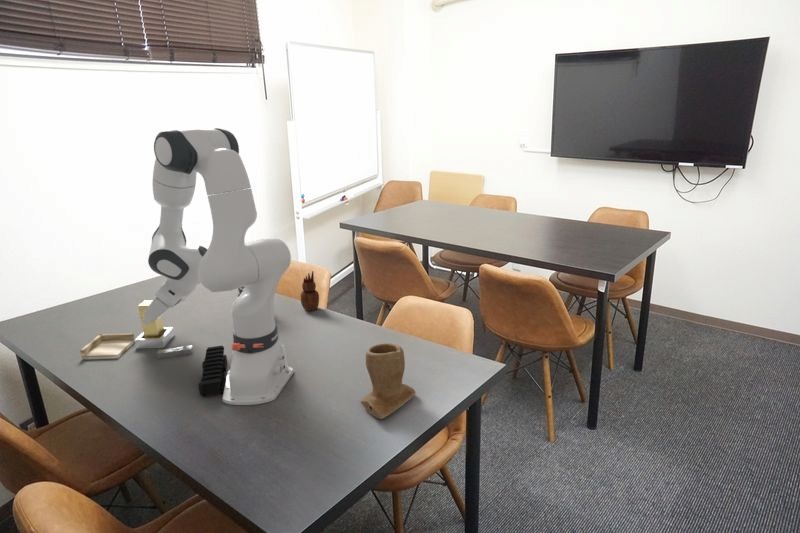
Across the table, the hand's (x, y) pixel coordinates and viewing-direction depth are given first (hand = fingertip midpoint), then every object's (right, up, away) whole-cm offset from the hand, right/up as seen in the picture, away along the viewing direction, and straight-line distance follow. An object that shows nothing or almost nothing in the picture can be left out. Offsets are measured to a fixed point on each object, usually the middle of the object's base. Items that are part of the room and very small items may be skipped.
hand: (151, 316), depth 158 cm
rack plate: (-12, -11, -2) cm, 16 cm away
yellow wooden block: (0, -9, +3) cm, 9 cm away
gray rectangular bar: (+10, -12, -5) cm, 16 cm away
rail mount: (+28, -16, -19) cm, 38 cm away
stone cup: (+77, -19, -32) cm, 86 cm away
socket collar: (0, -9, +3) cm, 9 cm away
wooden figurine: (+47, 0, +26) cm, 54 cm away
